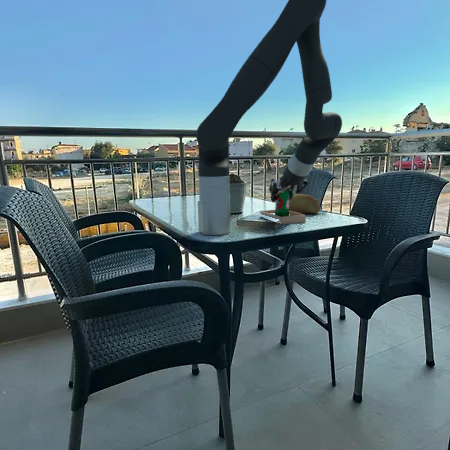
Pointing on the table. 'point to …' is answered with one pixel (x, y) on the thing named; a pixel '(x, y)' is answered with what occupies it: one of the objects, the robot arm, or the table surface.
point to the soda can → (282, 204)
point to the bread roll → (304, 204)
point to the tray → (290, 219)
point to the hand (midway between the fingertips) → (279, 199)
